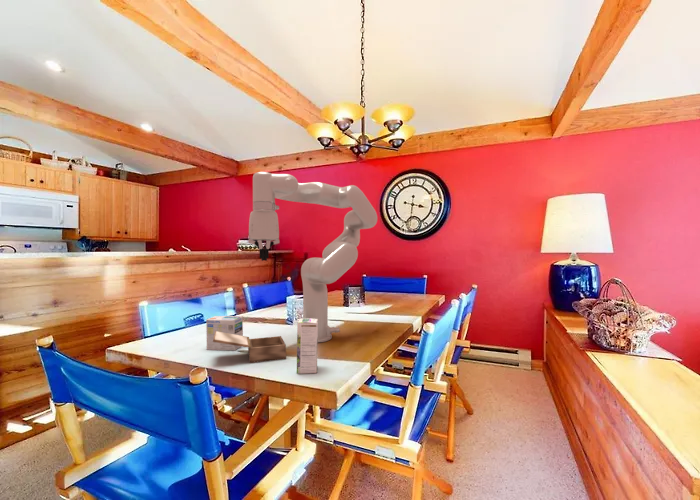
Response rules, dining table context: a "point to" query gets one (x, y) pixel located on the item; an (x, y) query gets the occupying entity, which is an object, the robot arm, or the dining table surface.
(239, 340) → the lid
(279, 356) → the box
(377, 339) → the dining table surface
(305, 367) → the syrup box
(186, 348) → the dining table surface
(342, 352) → the dining table surface
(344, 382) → the dining table surface
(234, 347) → the light bulb box
